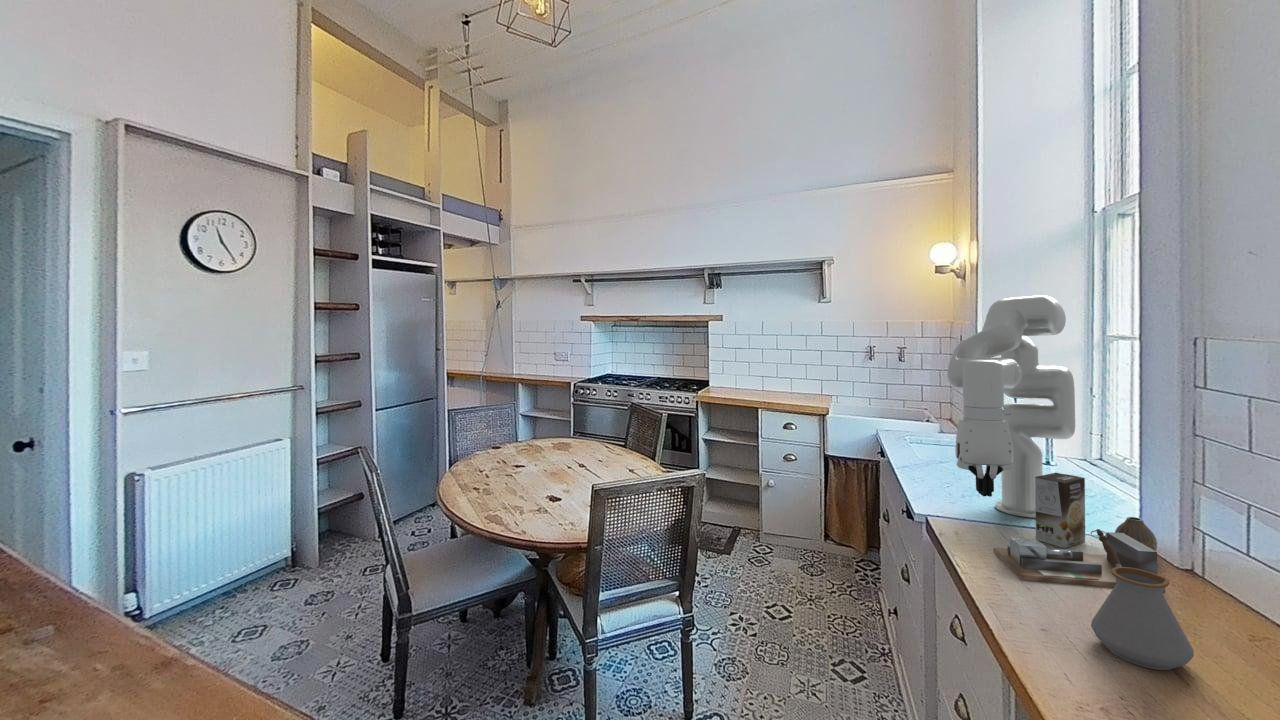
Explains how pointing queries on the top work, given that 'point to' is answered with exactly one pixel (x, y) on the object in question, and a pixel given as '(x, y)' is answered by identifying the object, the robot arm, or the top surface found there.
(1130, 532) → the vase
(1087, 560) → the bench
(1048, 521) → the coffee box
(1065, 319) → the robot arm
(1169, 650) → the coffee pot
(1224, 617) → the top surface
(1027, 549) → the grey block with rod
